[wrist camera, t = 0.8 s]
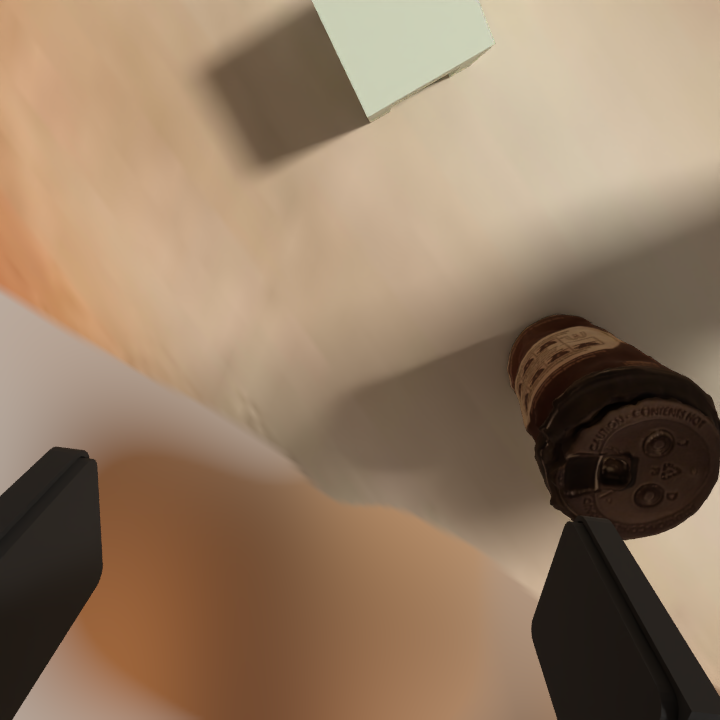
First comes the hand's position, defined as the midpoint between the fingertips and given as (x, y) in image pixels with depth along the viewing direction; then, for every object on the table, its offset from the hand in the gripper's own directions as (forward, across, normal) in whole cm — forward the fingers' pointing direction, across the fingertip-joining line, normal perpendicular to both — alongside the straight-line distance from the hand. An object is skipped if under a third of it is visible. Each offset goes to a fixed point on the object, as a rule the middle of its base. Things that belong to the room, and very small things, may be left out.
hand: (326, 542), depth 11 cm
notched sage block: (+24, 0, -13) cm, 27 cm away
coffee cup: (+24, -13, +4) cm, 28 cm away
